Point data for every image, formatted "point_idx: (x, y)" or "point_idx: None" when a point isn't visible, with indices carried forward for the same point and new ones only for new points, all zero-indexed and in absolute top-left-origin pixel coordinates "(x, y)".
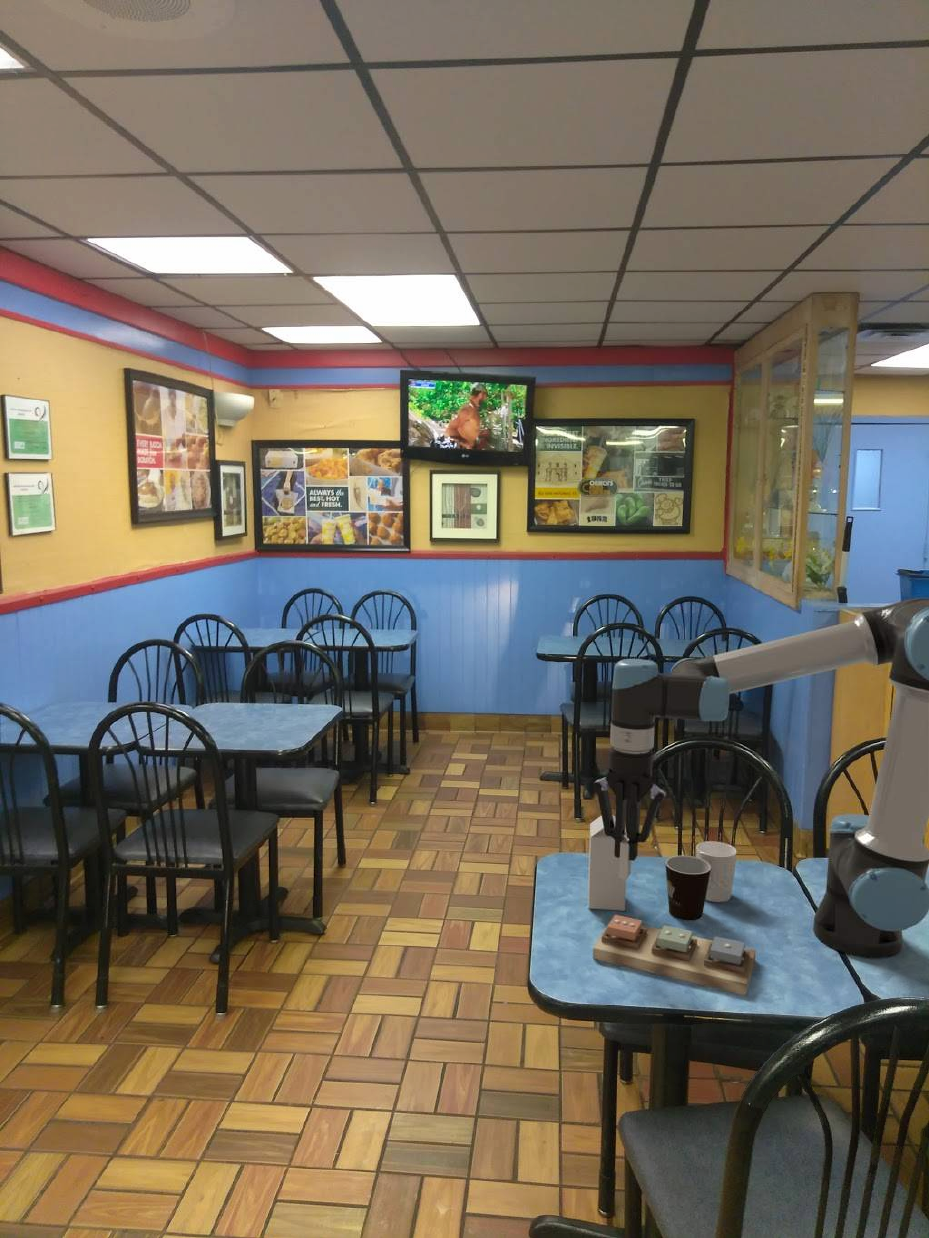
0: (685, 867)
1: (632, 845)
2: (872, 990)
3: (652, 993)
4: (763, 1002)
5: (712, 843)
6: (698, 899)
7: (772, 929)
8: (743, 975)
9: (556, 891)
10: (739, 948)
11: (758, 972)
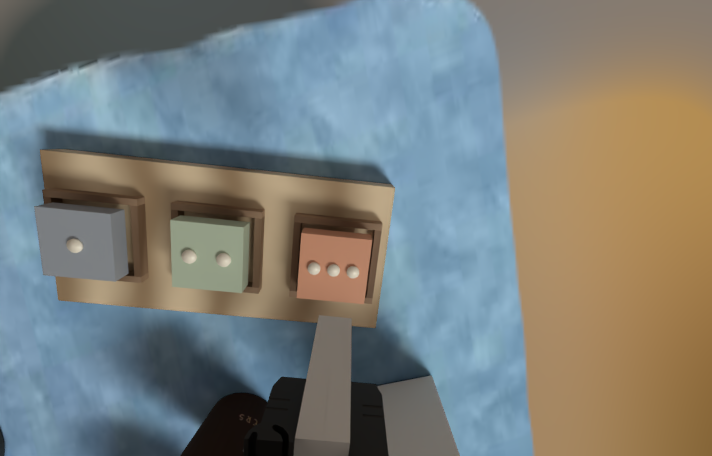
0: None
1: (263, 423)
2: None
3: (244, 85)
4: (22, 134)
5: None
6: (195, 436)
7: (75, 413)
8: (54, 184)
9: (505, 419)
10: (47, 243)
11: None
